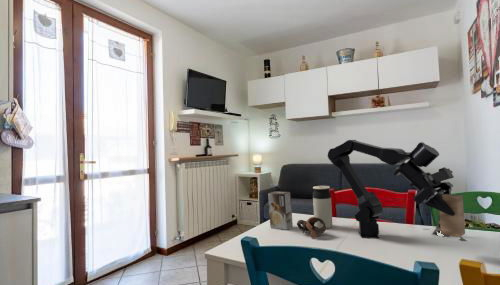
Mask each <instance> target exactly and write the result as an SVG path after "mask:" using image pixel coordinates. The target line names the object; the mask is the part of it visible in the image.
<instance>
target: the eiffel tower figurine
mask: <svg viewBox="0 0 500 285" xmlns="http://www.w3.org/2000/svg"><path fill="white" fill-rule="evenodd" d="M422 230H423V231H424V230H425V231H426V230H430V228H423V229H422ZM440 231H441V229H440V213H439V212H438V220H437V225H436V227H435V229H434V230H433V232H432V233H431V235H432V236H437V237H439V236H438V235H437V232H438V233H440ZM443 235H444V234H443ZM445 237H447V238H449V237H451V236H450V235H444V237H443V238H445ZM458 241H461V242H468V240H466V238H463V237H462V236H461V237H459V239H458Z"/></svg>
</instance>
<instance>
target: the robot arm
mask: <svg viewBox="0 0 500 285" xmlns="http://www.w3.org/2000/svg"><path fill="white" fill-rule="evenodd" d="M354 151H355V152H357V153H358V152H359V153H362V154H364V155H368V156H371V157H375V158H377V159H378V160H380V161H381V162H383V163H385V164H387V165H389V166H396V165H399V166H398V167H393V176H400V175H402V176H403V177H404V178H405V179H406V180H407V181H408V182H409V183H410V184H409V186H411V187H412V188H414V187H415V189H417V190H418V192H417V193H416V194H415V195H413V201H414V202H415V204H417V205H418V206H420V205H422V204H423V205H424V206H427V207H430V208H432V209H435V210H436V211H438V212H439V211H442V212H444V213H446V214H449V215H451V216H453V215H455V213H454V212H453V210H452V209H451V208H450V207H449V206H448V205H447V203H446V202H445V201H444V200H443V199H442V195H443V194H451V195H452V190H453V189H452V188H453V187H454V185H453V184H452V183H451V182H450V181H447V180H450V179H454V178H455V177H454V174H453V170H451V169H450V168H447V167H442V168H439V169H438V171H437V172H434V173H430V172H425V171H424V170H423V169H422V167H424V168H427V167H428V166H429V165H430V164H431V163H433V162H434V161H435V160H436V158H438V157H439V156H440V153H439V151H438V150H437V149H436V148H434V147H432V146H430V145H428V144H426V143H424V141H421V142H419V143H418V144H417V145H416V146H415V147H414V148H413V149H412V151H411V152H408V151H407V152H406V151H405V150H404V149H402V148H396V147H395V148H394V147H382V146H378V145H373V144H370V143H366V142H362V141H358V140H356V139H348V140H346V141H344V142H343V143H342V144H339V145H338V146H335V147H333V148H330V149H329V150H328V152H327V158H328V160H329V162H331V164H332V165H334V166H335V167H336V168H338V169H339V171H340V172H341V174H342V175H343V177H344V179H345V181H347V183H348V185H349V187H350V189H351V191H353V193H354V196H355V197H356V199H357V207H358V209H359V211H358V212H356V214H355V215H354V218H355V220H356V222H358V229H359V230H358V234H359V235H360V236H359V237H360V238H371V239H372V238H373V239H375V238H376V239H377V238H379V237H380V236H379V235H380V230H379V227H380V226H379V224H378V223H377V221H378V219H380V215H382V214H383V208H384V207H383V206H382V205H383V203H382V202H381V201H380V199H379V197H378V195H376V194H373V195H372V194H370V193H369V192H368V190H367V188H366V187H365V185H364V184H363V182H362V181H361V179H360V177H359V176H358V174H357V172H356V171H355V170H354V168H353V167H352V165H351V162H350V161H351V158H350V155H351V154H352V153H354ZM406 161H407V162H406ZM424 201H426V202H425V203H424Z"/></svg>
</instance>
